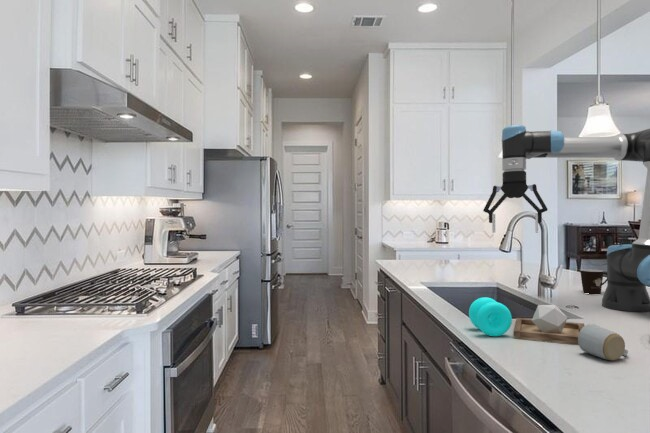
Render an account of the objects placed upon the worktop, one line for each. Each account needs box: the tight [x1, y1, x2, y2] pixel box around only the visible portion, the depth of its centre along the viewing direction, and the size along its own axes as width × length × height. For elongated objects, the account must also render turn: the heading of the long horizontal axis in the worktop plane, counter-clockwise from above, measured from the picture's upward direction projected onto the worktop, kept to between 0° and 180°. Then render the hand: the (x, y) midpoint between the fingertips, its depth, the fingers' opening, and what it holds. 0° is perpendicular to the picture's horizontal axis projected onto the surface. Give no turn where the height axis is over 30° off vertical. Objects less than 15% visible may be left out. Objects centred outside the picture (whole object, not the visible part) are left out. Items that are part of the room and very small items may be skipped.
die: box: [531, 304, 568, 333], centre depth 127 cm, size 8×9×10 cm
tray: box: [513, 317, 586, 346], centre depth 127 cm, size 19×17×2 cm
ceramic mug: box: [578, 323, 629, 361], centre depth 108 cm, size 10×8×7 cm
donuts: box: [468, 296, 513, 337], centre depth 130 cm, size 10×10×10 cm
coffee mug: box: [579, 268, 607, 295], centre depth 186 cm, size 12×9×10 cm
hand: (514, 232), depth 150 cm, fingers open, 13 cm apart
